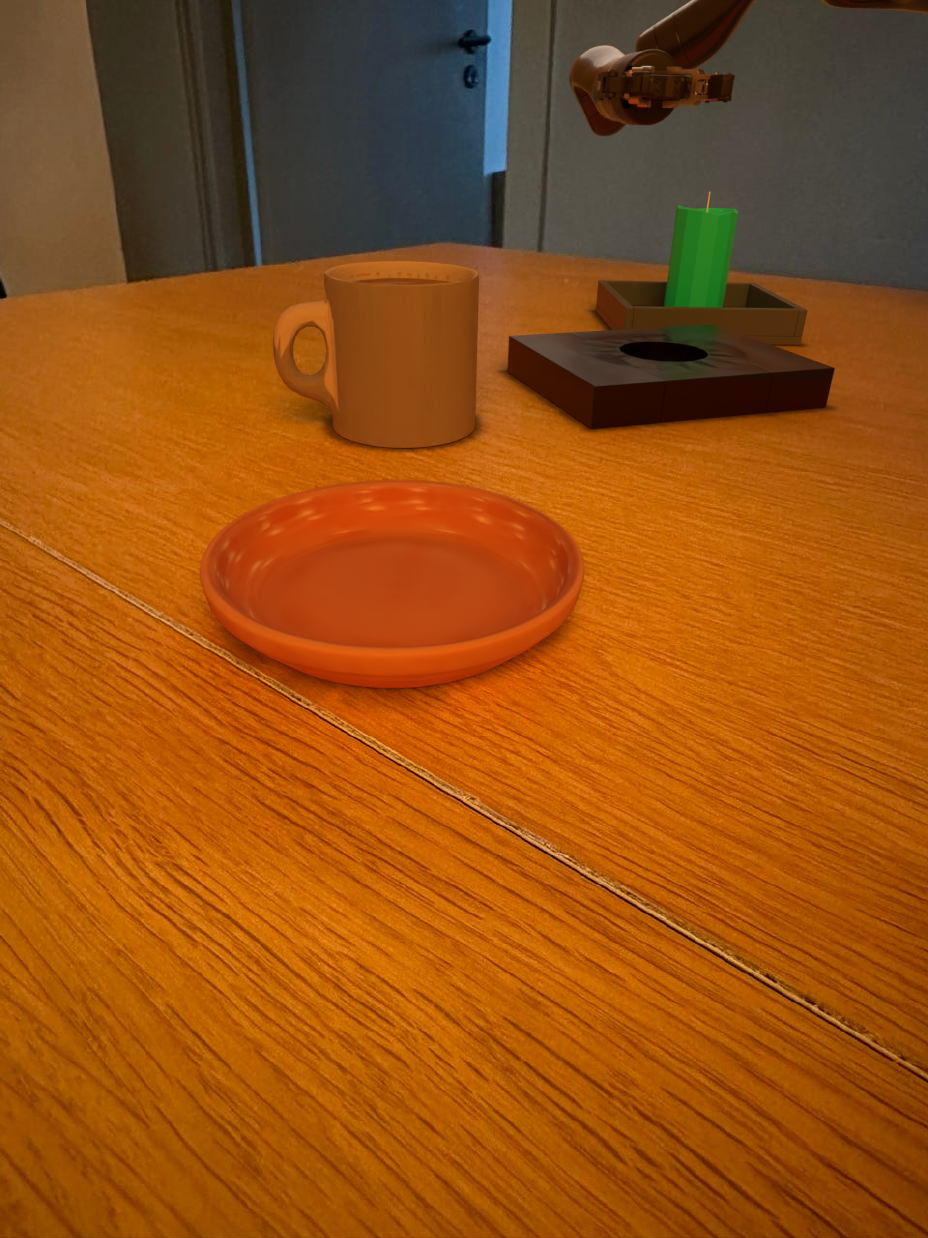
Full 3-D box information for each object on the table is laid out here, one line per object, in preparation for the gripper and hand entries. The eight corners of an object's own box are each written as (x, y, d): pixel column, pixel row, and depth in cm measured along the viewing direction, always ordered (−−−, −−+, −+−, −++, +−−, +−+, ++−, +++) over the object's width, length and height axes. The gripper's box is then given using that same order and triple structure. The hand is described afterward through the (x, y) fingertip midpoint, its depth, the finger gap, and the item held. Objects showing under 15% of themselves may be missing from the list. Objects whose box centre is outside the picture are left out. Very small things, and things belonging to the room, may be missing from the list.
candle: (657, 321, 89) (673, 191, 83) (667, 310, 94) (684, 187, 88) (716, 326, 87) (737, 194, 81) (723, 316, 92) (744, 190, 86)
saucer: (616, 711, 32) (626, 641, 30) (172, 725, 30) (158, 653, 29) (546, 530, 46) (550, 476, 44) (237, 534, 44) (231, 479, 43)
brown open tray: (749, 313, 98) (754, 282, 96) (800, 345, 85) (808, 309, 83) (595, 311, 97) (598, 280, 96) (622, 342, 84) (626, 307, 82)
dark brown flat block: (709, 357, 79) (715, 324, 78) (826, 407, 66) (835, 367, 65) (507, 371, 74) (508, 335, 72) (590, 429, 60) (595, 386, 59)
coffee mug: (469, 403, 65) (472, 261, 60) (481, 447, 57) (485, 285, 52) (289, 403, 64) (277, 259, 59) (273, 448, 56) (258, 284, 51)
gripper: (583, 49, 101) (623, 38, 87) (701, 53, 102) (758, 43, 88) (578, 123, 104) (615, 125, 90) (691, 126, 106) (745, 128, 92)
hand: (685, 84), depth 89 cm, fingers open, 8 cm apart
